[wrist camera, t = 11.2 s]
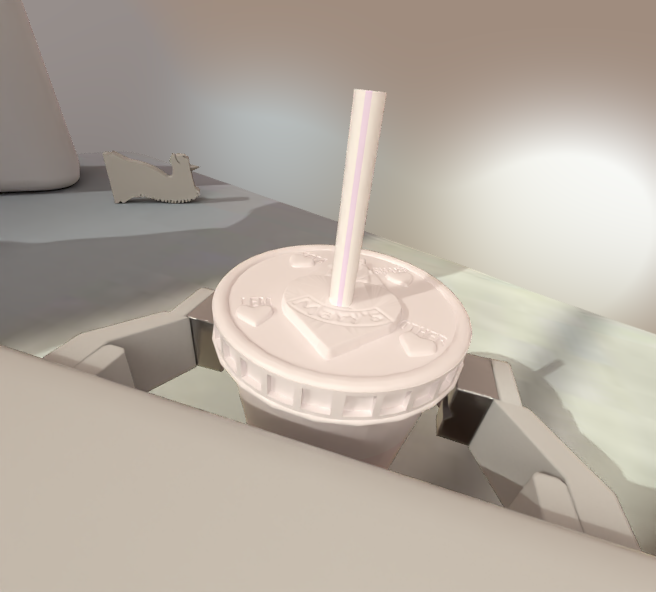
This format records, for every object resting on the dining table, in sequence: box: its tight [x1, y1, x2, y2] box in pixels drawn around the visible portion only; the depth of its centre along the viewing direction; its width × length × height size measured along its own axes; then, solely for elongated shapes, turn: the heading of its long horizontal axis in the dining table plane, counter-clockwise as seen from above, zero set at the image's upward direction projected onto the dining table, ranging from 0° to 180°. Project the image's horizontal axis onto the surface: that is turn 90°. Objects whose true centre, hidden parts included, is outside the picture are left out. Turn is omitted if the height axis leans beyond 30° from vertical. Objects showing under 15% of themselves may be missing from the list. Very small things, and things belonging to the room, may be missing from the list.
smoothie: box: [212, 89, 472, 470], centre depth 10 cm, size 6×6×14 cm
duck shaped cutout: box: [103, 151, 200, 203], centre depth 40 cm, size 6×1×10 cm
